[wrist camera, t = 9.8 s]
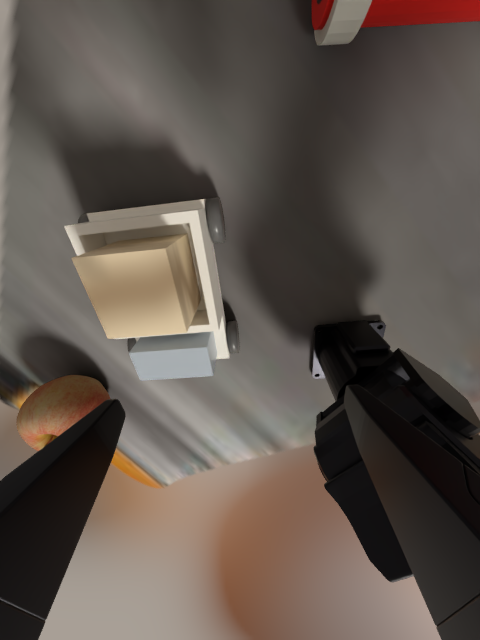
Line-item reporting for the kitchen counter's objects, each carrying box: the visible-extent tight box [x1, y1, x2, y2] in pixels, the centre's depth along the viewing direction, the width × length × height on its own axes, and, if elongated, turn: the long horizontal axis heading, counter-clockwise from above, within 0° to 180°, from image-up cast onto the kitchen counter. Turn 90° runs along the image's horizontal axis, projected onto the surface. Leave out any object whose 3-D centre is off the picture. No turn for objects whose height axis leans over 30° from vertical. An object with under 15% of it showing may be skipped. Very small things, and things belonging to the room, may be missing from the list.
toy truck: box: [64, 197, 239, 381], centre depth 18 cm, size 13×10×6 cm
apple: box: [17, 375, 110, 451], centre depth 24 cm, size 8×8×8 cm
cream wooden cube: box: [72, 233, 201, 339], centre depth 15 cm, size 5×5×5 cm
